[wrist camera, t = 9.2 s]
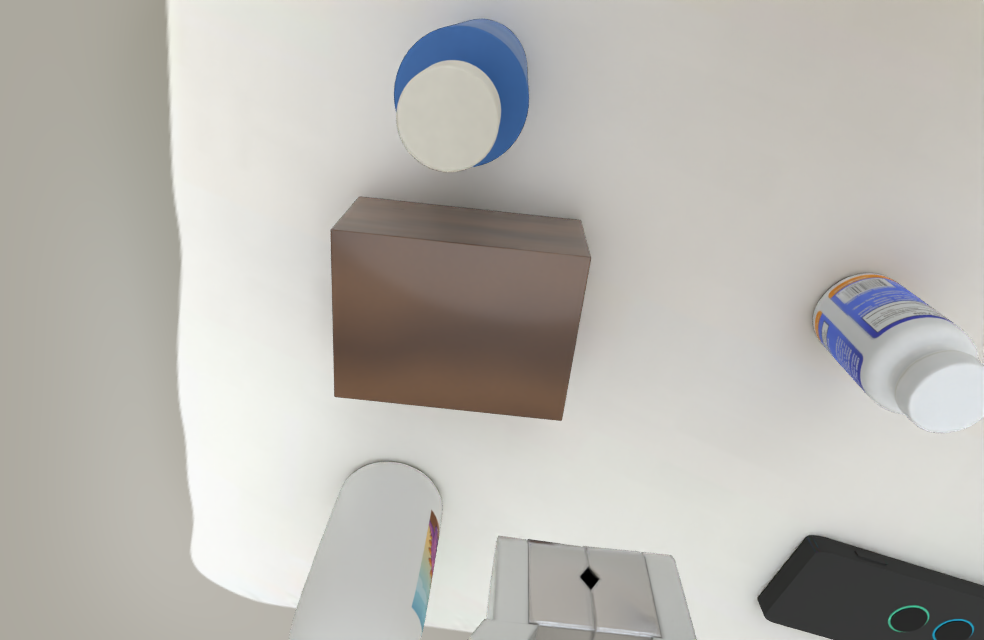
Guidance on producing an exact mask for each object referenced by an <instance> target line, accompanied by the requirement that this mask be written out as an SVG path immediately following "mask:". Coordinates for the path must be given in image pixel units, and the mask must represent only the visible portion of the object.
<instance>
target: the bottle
mask: <svg viewBox="0 0 984 640" xmlns="http://www.w3.org/2000/svg"><path fill="white" fill-rule="evenodd" d="M394 103H395V109H396V122H397V128H398V132H399V136H400V138H401V140H402V143H403V144H404V146H405V148H406V149H407V150H408V152H409V153H410V154H411V155H412V156H413V157H414V158H415V159H416V160H417V161H418V162H420V163H421V164H423V165H424V166H426V167H428V168H431V169H433V170H437V171H441V172H458V171H463V170H466V169H468V168H471V167H476V166H480V165H483V164H486V163H489V162H491V161H493V160H494V159H496V158H498V157H499V156H501V155H502V154H503V153H505V152H506V151H507V150H508V149H509V148H510V147H511V146H512V144H513V143H514V142H515V141H516V139H517V138H518V136H519V134H520V133H521V131H522V128H523V126H524V124H525V121H526V117H527V113H528V107H529V89H528V73H527V60H526V55H525V52H524V49H523V47H522V45H521V43H520V41H519V40H518V38H517V37H516V36H515V35H514V33H513V32H512V31H510V30H509V29H508V28H507V27H505V26H504V25H502V24H500V23H498V22H496V21H492V20H488V19H474V20H470V21H466V22H462V23H458V24H455V25H451V26H447V27H443V28H440V29H437V30H435V31H432V32H430V33H429V34H427V35H425V36H424V37H422V38H421V39H420V40H419V41H417V42H416V43H415V44H414V45H413V46H412V47H411V49H410V50H409V51H408V52H407V54H406V55H405V57H404V59H403V61H402V63H401V65H400V67H399V70H398V73H397V76H396V81H395V88H394Z"/></svg>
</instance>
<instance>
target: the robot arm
mask: <svg viewBox="0 0 984 640" xmlns="http://www.w3.org/2000/svg"><path fill="white" fill-rule="evenodd" d="M468 640H697V639H696V635H695V632H694V628H693V624H692V621H691V617H690V613H689V610H688V606H687V602H686V599H685V595H684V591H683V587H682V584H681V580H680V576H679V573H678V569H677V565H676V562H675V560H674V558H673V557H672V556H671V555H665V554H655V553H645V552H642V553H640V552H637V551H627V550H617V549H607V548H597V547H587V546H583V547H581V546H574V545H567V544H559V543H552V542H545V541H537V540H530V539H528V540H526V539H519V538H511V537H504V536H498V538H497V541H496V548H495V554H494V561H493V568H492V575H491V582H490V590H489V599H488V608H487V619H484V620H483V621H482V622H481V624H480V625H479V626H478V627H477V629H476V630H475V631H474V632H473V634H472V635H471V636H470V637H469V638H468Z"/></svg>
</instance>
